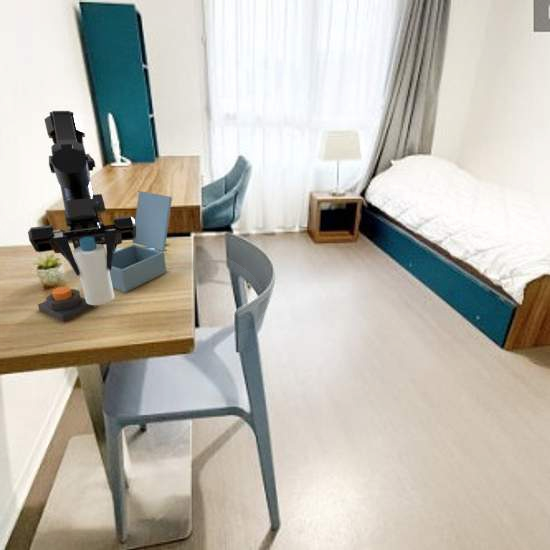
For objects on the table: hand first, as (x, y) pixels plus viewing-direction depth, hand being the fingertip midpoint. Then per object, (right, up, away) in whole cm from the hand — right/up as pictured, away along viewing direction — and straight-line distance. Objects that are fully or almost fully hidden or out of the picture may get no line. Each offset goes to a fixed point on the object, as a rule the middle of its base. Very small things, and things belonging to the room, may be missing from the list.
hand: (94, 272), depth 71 cm
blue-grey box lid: (+2, +14, +28) cm, 31 cm away
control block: (-12, -8, +11) cm, 18 cm away
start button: (-12, -5, +10) cm, 16 cm away
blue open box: (-3, -1, +26) cm, 27 cm away
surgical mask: (-8, +6, +41) cm, 42 cm away
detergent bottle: (-1, -5, +4) cm, 7 cm away
